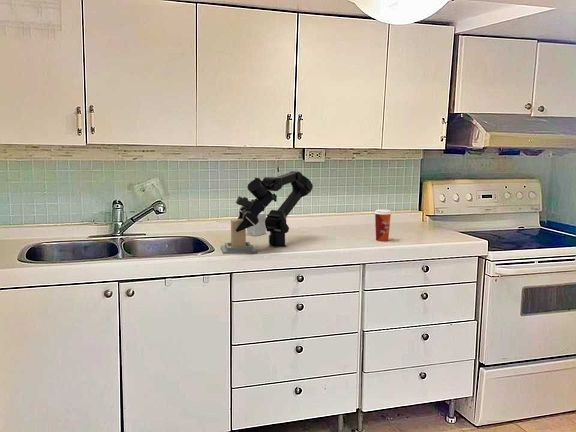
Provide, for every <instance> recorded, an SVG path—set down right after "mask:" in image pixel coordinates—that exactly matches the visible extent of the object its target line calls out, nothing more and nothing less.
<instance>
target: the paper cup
mask: <svg viewBox="0 0 576 432" xmlns="http://www.w3.org/2000/svg"><path fill="white" fill-rule="evenodd" d="M391 215H392V210H390V209H382V208H381V209H375V212H374V217H375V219H374V220H375V221H374V222H375V241H377V242H388V241H389V235H390V225H391V224H390V223H391Z"/></svg>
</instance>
